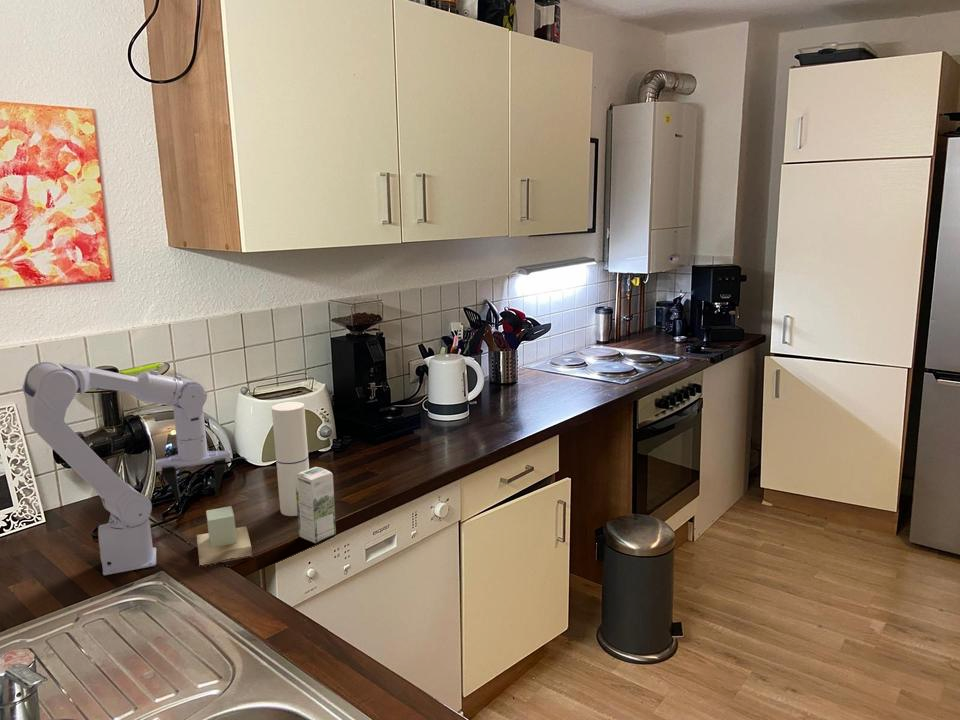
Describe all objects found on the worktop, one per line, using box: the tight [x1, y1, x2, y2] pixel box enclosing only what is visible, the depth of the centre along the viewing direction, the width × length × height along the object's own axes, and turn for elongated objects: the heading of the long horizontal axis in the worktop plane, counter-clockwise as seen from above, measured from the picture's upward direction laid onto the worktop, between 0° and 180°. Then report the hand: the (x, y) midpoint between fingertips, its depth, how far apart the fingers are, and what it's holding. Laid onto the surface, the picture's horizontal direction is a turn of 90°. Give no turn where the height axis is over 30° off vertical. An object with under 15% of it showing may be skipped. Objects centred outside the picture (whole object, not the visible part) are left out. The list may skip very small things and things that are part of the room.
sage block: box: [205, 505, 237, 548], centre depth 153 cm, size 5×5×6 cm
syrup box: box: [295, 466, 337, 544], centre depth 159 cm, size 6×6×14 cm
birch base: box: [196, 526, 253, 566], centre depth 154 cm, size 10×10×3 cm
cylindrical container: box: [271, 401, 310, 517], centre depth 171 cm, size 7×7×25 cm
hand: (197, 497), depth 158 cm, fingers open, 7 cm apart
